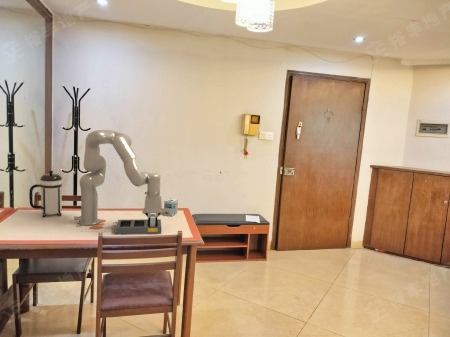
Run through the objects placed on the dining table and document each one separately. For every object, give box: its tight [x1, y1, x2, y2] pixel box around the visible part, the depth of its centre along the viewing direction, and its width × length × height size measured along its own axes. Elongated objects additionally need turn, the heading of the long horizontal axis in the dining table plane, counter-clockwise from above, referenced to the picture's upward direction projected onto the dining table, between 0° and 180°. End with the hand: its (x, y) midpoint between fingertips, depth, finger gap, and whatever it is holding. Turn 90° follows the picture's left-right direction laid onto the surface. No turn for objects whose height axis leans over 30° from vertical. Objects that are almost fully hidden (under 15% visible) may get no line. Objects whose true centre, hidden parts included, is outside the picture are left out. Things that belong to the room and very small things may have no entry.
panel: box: [150, 213, 156, 226], centre depth 201 cm, size 3×10×7 cm, turn 13°
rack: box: [115, 218, 162, 236], centre depth 200 cm, size 26×16×4 cm, turn 103°
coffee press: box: [28, 170, 65, 218], centre depth 217 cm, size 17×16×30 cm
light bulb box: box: [163, 197, 179, 217], centre depth 236 cm, size 11×7×11 cm, turn 168°
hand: (152, 223), depth 201 cm, fingers closed on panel, 2 cm apart
